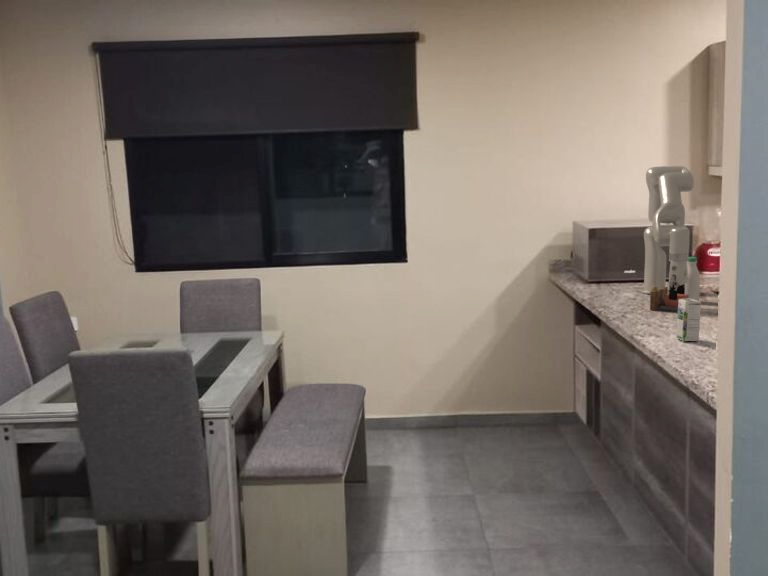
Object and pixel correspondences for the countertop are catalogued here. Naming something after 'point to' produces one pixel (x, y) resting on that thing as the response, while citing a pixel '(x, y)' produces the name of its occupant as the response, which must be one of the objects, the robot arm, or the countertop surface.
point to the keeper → (667, 308)
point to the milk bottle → (692, 279)
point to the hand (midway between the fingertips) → (676, 297)
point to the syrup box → (688, 320)
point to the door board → (657, 297)
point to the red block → (674, 302)
